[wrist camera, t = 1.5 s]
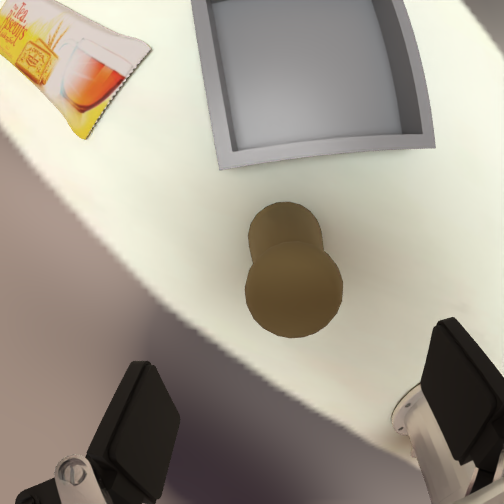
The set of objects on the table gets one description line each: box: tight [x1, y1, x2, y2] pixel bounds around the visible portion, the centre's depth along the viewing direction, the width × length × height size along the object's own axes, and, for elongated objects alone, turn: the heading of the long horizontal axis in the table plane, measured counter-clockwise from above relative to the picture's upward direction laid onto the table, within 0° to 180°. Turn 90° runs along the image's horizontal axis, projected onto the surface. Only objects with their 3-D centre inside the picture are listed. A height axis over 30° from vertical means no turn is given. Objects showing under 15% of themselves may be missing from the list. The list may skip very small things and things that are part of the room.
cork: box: [245, 202, 343, 338], centre depth 19 cm, size 6×6×11 cm
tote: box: [191, 0, 436, 170], centre depth 17 cm, size 15×15×4 cm
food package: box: [0, 0, 151, 140], centre depth 18 cm, size 27×2×10 cm
